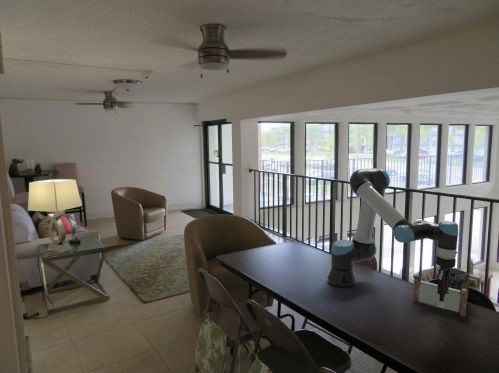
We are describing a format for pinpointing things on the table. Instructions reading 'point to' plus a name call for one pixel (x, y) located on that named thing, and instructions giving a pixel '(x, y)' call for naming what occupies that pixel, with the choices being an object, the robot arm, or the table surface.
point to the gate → (431, 296)
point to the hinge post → (416, 287)
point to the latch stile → (463, 302)
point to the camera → (459, 280)
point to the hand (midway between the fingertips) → (441, 307)
